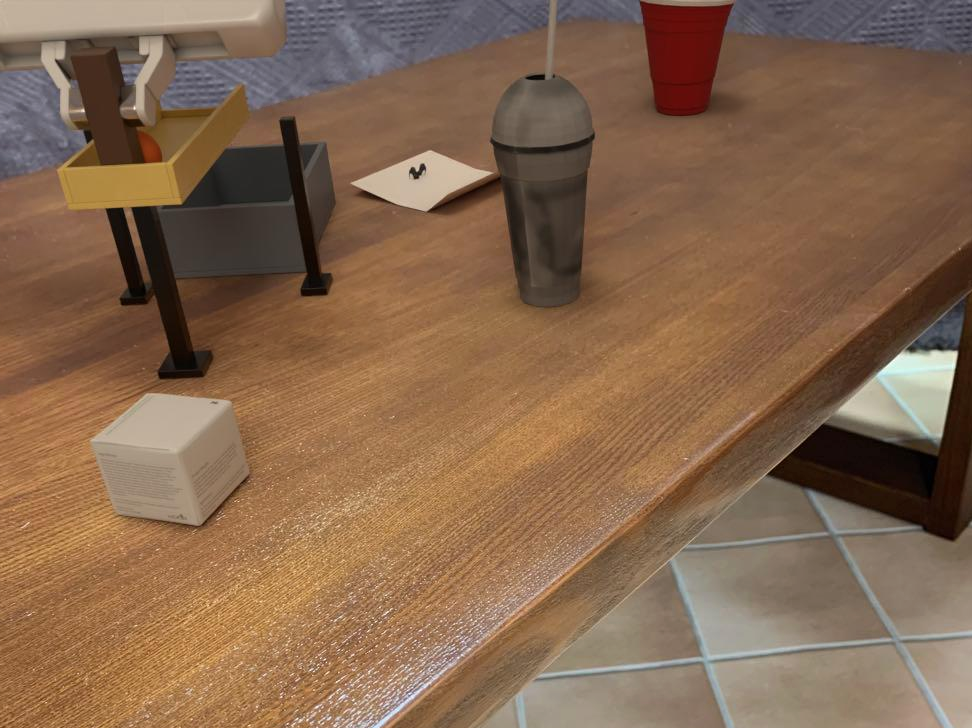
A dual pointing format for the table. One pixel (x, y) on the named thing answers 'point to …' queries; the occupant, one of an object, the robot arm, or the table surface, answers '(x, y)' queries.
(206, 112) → the trough
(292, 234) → the bin
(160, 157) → the toy ball
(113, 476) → the small box
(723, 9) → the plastic cup
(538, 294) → the beverage cup
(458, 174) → the folded paper
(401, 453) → the table surface
